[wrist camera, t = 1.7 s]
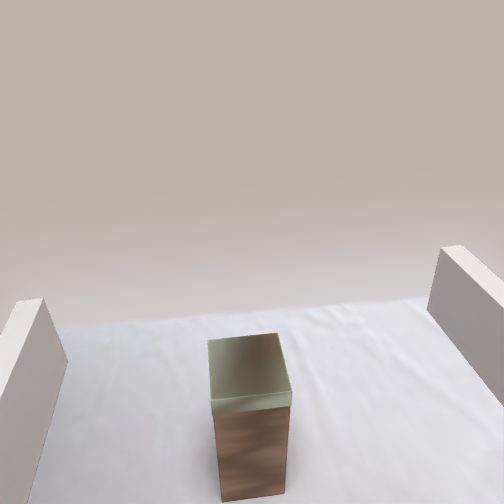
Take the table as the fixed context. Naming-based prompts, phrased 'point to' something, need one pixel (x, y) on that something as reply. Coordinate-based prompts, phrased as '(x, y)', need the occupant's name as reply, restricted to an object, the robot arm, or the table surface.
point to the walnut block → (250, 414)
